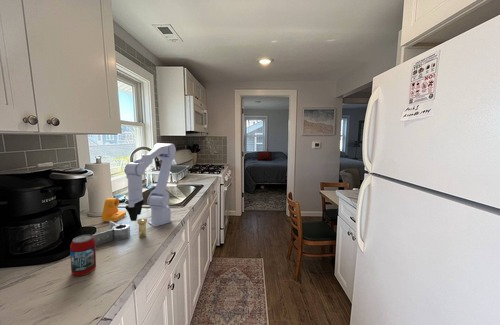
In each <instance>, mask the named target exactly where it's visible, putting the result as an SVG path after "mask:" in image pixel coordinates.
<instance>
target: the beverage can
mask: <svg viewBox="0 0 500 325" xmlns="http://www.w3.org/2000/svg"><path fill="white" fill-rule="evenodd" d="M69 249H70V250H69V252H70V268H71V269H70V270H71V274H72V275H73V276H78V277H79V276H84V275H88V274H89V273H91V272H93V271H94V270H95V269H96V267H97V256H96V255H97V252H96V250H97V249H96V246H95V239H94V238H93V234H82V235H78V236H75V237H74V238H73V239H72V241H71V243H70V245H69Z"/></svg>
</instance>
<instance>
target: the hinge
mask: <svg viewBox="0 0 500 325" xmlns="http://www.w3.org/2000/svg"><path fill="white" fill-rule="evenodd" d="M108 225H109V226H108V228H109V229H108V230H105V231H101V232H98V233H95V234H92V237H93V238H94V239H95V247H97V246H100V245H101V246H102V245H103V244H106V243H110V242H112V241H114V242H118V241H119V242H120V241H124V240H127V239H128V238H129V237H131V225H130V224H128V223H120V224H119V223H116V222H115V221H108Z"/></svg>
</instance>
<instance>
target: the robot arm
mask: <svg viewBox="0 0 500 325" xmlns="http://www.w3.org/2000/svg"><path fill="white" fill-rule="evenodd" d="M176 152H177V148H176V145H175V144H174V143H160V142H156V144H154V145H153V148H152V149H151V150H150V151H149V152H148V153H143V154H142V153H141V155H140V156H139V157H138V158H136V159H135V160H134V161H133V162H128V163H127V164H125V168H124V170H123V171H124V173H125V175H126V178H127V192H128V193H127V196H128V197H126V198H125V201H127V202H128V205H125V207H124V208H125V211H126V212H127V214H128V216H129V219H130V222H136V221H138V220H137V219H138V215H139V216H140V215H141V214H142V208H143V205H144V203H145V200H146V202H147V205H148V206H149V208H150V213H151V215H150V219H151V220H149V221H147V224H150V225H151V226H153V227H158V226H162V225H166V224H169V223H172V220H171V217H172V215H171V214H172V213H171V208H170V206H169V203H170V193H169V192H168V191H167V184H168V183H169V181H168V180H169V177H170V172H171V167H172V164H173V160H175V157H176V156H175V155H176ZM157 157H158V159H160V160H161V165H160V169H159V173H158V178H157V181H156V186H155V188H154V189H153V190H150V193H149V195H148V197H147V199H146V198H144V197H143V175H145V172H146V170H147V168H148V167H149V166H150V165H151V164H153V160H154V159H155V158H157Z"/></svg>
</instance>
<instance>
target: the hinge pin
mask: <svg viewBox="0 0 500 325" xmlns="http://www.w3.org/2000/svg"><path fill="white" fill-rule="evenodd" d="M136 221H137V224H138V239H139V238H140V239H144V238H146V237H147V223H148V219H147V218H139V219H138V220H136Z"/></svg>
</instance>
